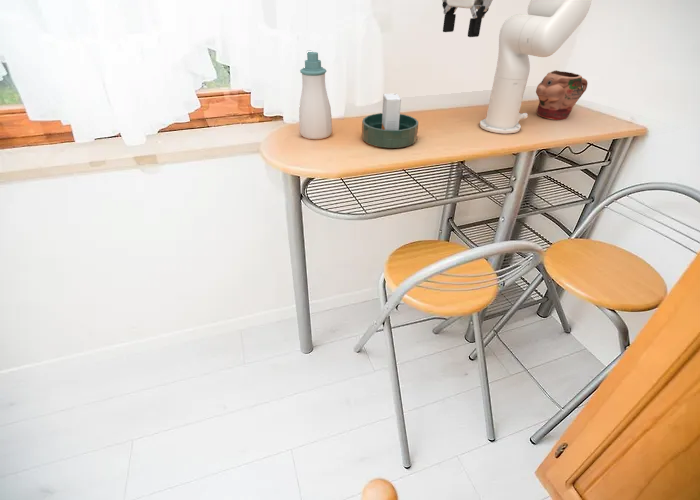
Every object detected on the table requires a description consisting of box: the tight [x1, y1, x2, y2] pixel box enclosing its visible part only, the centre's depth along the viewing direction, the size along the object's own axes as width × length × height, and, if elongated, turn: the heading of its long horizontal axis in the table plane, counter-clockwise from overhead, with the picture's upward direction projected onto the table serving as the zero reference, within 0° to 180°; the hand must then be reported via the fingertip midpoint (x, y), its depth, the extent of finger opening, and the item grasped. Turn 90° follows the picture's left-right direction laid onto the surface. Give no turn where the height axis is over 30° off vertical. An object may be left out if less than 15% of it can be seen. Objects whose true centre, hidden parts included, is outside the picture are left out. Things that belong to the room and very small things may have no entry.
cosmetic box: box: [381, 93, 402, 130], centre depth 115 cm, size 6×4×12 cm
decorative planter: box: [535, 70, 589, 121], centre depth 136 cm, size 20×12×14 cm, turn 114°
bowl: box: [361, 112, 419, 149], centre depth 118 cm, size 16×16×6 cm
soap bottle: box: [298, 51, 333, 140], centre depth 115 cm, size 10×10×23 cm
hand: (460, 34), depth 102 cm, fingers open, 9 cm apart
